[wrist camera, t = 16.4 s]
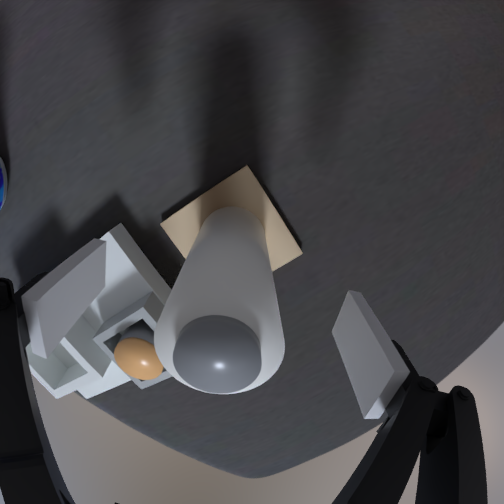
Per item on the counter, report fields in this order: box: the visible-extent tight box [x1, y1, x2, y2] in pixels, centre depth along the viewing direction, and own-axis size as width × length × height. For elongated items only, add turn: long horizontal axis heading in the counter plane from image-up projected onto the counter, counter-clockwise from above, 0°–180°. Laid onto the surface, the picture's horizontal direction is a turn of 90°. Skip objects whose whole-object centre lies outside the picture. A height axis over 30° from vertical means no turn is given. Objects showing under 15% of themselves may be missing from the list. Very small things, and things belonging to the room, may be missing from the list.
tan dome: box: [114, 319, 164, 380], centre depth 23 cm, size 4×4×3 cm
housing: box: [26, 223, 172, 399], centre depth 24 cm, size 17×12×6 cm
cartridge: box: [154, 206, 285, 394], centre depth 17 cm, size 5×5×14 cm
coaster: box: [160, 165, 303, 271], centre depth 24 cm, size 8×8×1 cm
